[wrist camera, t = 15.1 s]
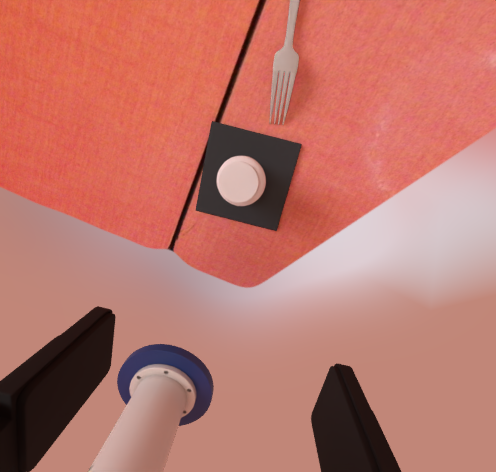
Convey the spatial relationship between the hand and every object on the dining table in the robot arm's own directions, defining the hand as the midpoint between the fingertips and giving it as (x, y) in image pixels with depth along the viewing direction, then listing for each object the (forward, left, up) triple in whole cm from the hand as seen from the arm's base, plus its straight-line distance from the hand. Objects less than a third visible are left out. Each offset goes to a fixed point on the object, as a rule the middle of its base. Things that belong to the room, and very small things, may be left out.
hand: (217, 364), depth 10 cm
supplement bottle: (+6, +2, -25) cm, 26 cm away
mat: (+6, +2, -25) cm, 26 cm away
